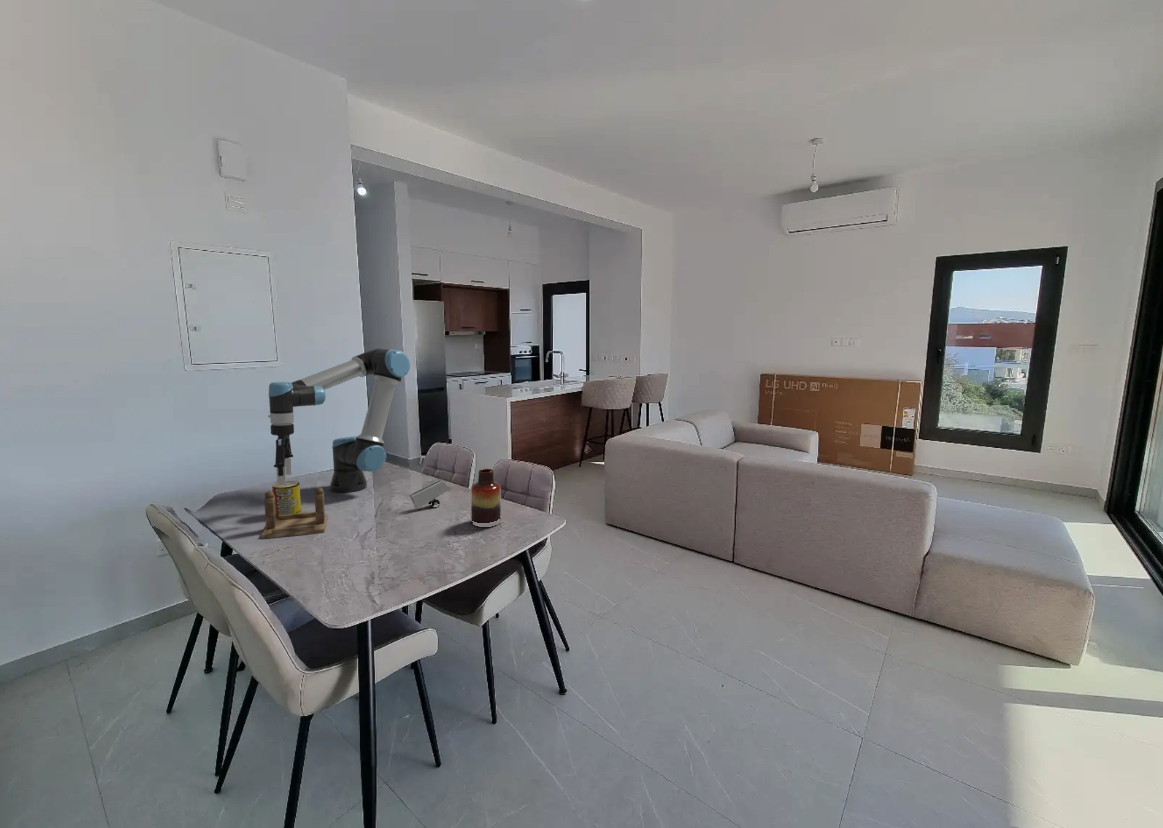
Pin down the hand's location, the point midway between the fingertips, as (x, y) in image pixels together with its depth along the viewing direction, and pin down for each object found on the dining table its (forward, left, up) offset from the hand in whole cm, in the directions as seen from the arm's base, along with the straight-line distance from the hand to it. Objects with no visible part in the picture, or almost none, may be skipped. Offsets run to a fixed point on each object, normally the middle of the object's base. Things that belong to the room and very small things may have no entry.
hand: (284, 479), depth 194 cm
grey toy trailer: (-46, +9, -12) cm, 48 cm away
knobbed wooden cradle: (-5, +16, -14) cm, 22 cm away
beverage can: (0, 0, -14) cm, 14 cm away
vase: (-70, +31, -14) cm, 78 cm away
